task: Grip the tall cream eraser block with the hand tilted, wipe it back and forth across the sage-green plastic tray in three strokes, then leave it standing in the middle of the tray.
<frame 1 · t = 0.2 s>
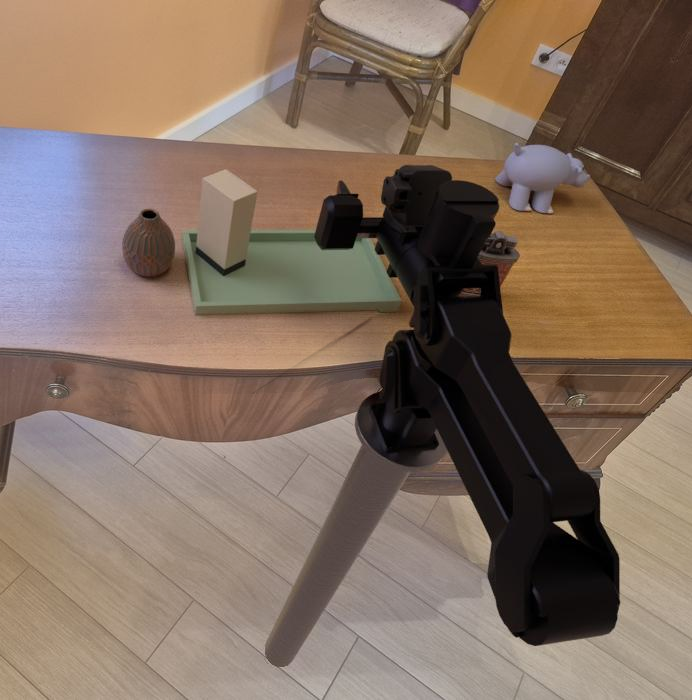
hand: (374, 183, 77), 15 cm above the table, tool horizontal, fingers open, 9 cm apart
lighter: (467, 291, 88), on the table
vase: (148, 269, 83), on the table
hippopotamus toy: (530, 196, 108), on the table
tray: (286, 275, 85), on the table
eraser: (220, 259, 85), resting on tray
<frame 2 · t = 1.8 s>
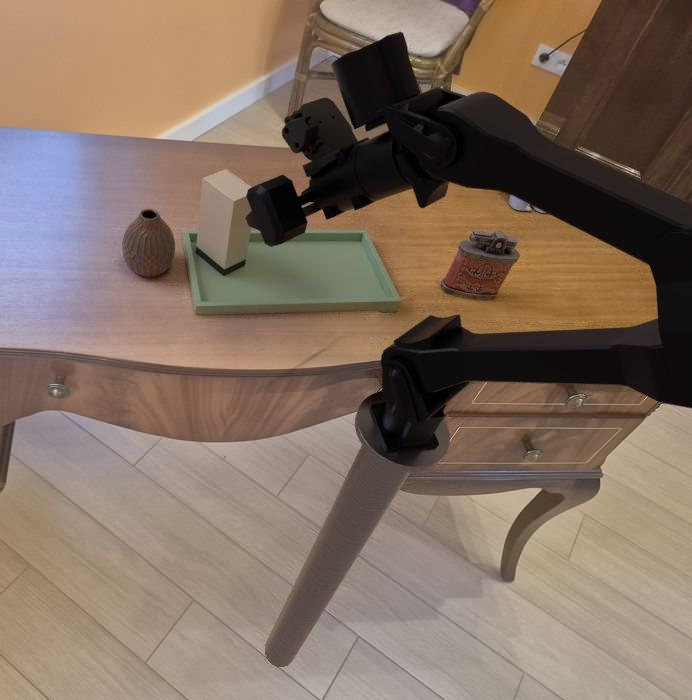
hand: (276, 208, 72), 14 cm above the table, tool tilted 45°, fingers open, 9 cm apart
nothing on the table moved.
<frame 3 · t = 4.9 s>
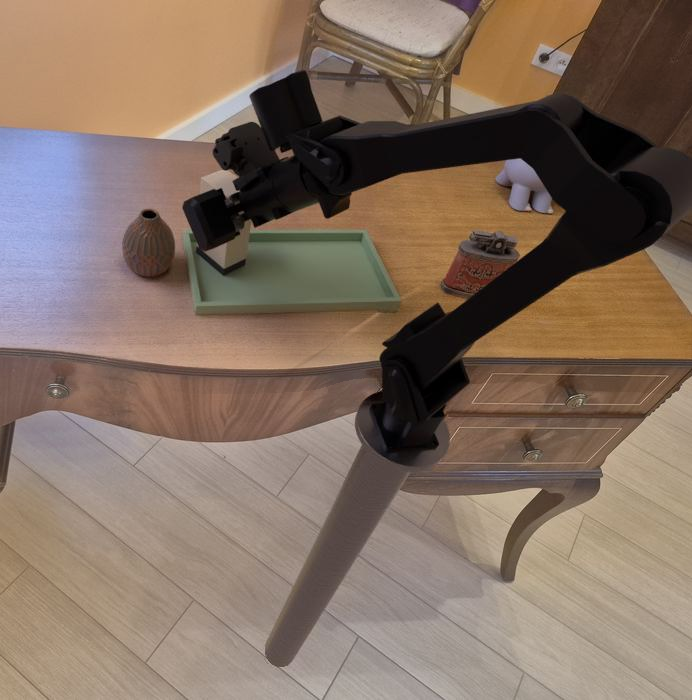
hand: (217, 217, 81), 7 cm above the table, tool tilted 45°, fingers closed on eraser, 4 cm apart
eraser: (220, 259, 85), point 1 cm above the table, touching gripper, tray
everything else where it was.
when the fingers open (7 cm above the table, at t = 12.5 s): eraser stays where it is, resting on tray.
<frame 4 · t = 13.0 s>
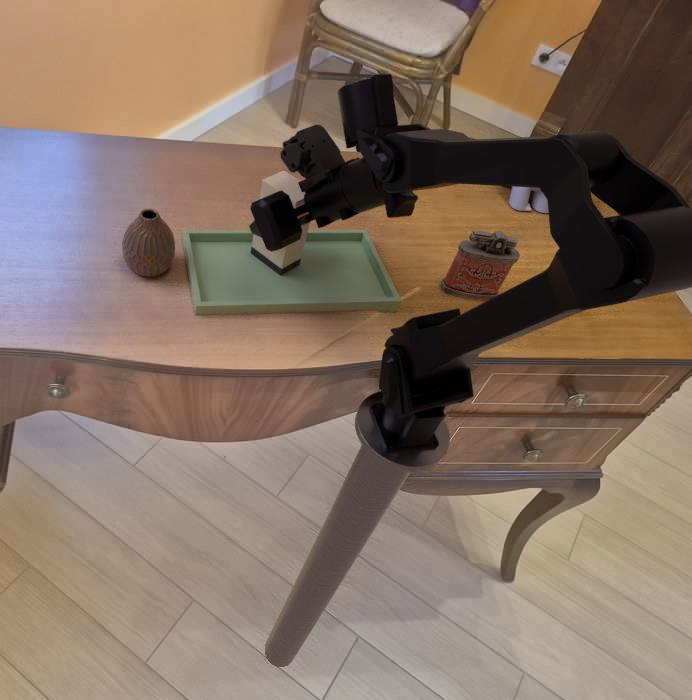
hand: (275, 218, 83), 7 cm above the table, tool tilted 45°, fingers open, 9 cm apart
eraser: (274, 259, 87), point 1 cm above the table, touching tray
everything else where it was.
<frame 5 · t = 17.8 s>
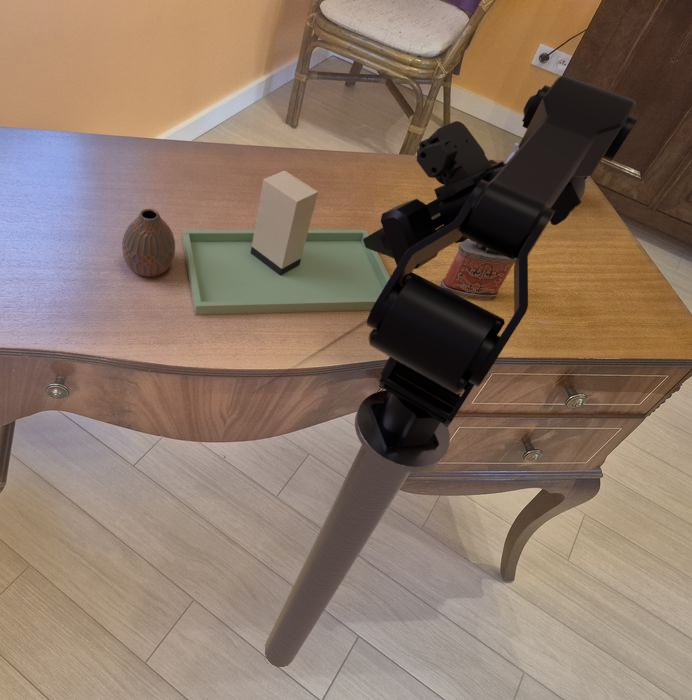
hand: (389, 229, 72), 14 cm above the table, tool tilted 45°, fingers open, 9 cm apart
nothing on the table moved.
at the end: eraser inside the target area in the tray (3.1 cm from its centre), point 0.5 cm above the tray's base; eraser tilted 0°; hippopotamus toy moved 0.2 cm from its start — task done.
